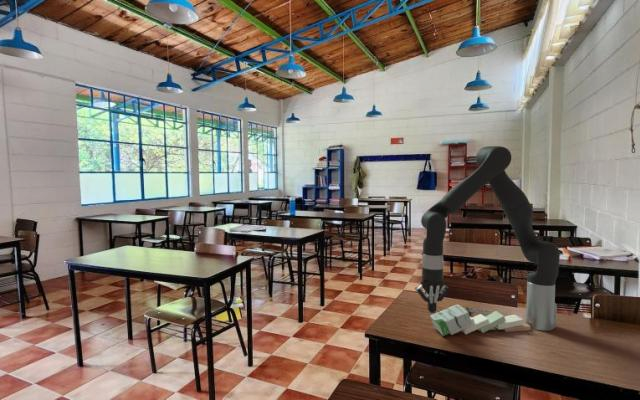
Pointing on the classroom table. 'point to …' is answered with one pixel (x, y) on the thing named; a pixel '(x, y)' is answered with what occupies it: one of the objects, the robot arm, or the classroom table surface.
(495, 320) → the domino
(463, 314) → the ink box
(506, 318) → the domino
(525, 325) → the domino end
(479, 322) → the domino
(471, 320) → the domino
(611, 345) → the classroom table surface
